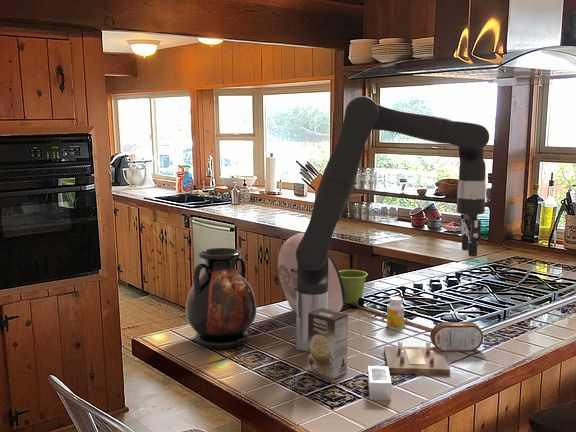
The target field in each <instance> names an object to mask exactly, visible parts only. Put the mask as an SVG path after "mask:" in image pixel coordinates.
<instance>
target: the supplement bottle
mask: <svg viewBox="0 0 576 432" xmlns="http://www.w3.org/2000/svg"><path fill="white" fill-rule="evenodd" d="M402 303H403V298H402V297H400V296H391V297H389V303H388V304H387V309H386V310H387V311H386V327H387V328H389V329H395V330H397V329H398V330H399V329H403V328H404V325H405V321H404V320H405V306H404V305H403V304H402Z"/></svg>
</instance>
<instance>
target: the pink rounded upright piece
mask: <svg viewBox="0 0 576 432" xmlns="http://www.w3.org/2000/svg"><path fill="white" fill-rule="evenodd" d="M304 234H305V232H300V233H299V232H298V233H296V234H294V235H292V236H290V237H288V238H287V240H286V241H284V243H283V244H282V245H281V248H280V250H279V254H278V260H277V269H278V275H279V280H280V284H281V287H282V289H283V290H282V291H283V293H284V296H285V299H286V300H287V303H288V305H289V307H290V308H291V309H292V311H293V312H294V313H295V314H297V260H296V249H297V247H298V245H299V243H300V241H301V240H302V238H303V236H304ZM328 253H329V261H328V309H329V310H333V311H336V312H340V311H342V309H343V308H344V306H345V298H346V294H345V288H344V284H343V281H342V278H341V276H340V273H339V271H340V270H339V268H338V265H337V263H336V261H335V259H334V257H333V256H332V254H331V253H330V252H329V251H328Z"/></svg>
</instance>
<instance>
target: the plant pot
mask: <svg viewBox="0 0 576 432" xmlns="http://www.w3.org/2000/svg"><path fill="white" fill-rule="evenodd" d="M339 273H340V276H341V278H342V281H343V284H344V288H345V294H346V298H345V303H346V304H358V300H359V298H363V294H364V287H365V283H366V279H367V276H368V274H369V273H367V272H366V271H364V270H363V271H362V270H357V269H344V270H339ZM345 303H344V304H345Z"/></svg>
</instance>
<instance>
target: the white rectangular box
mask: <svg viewBox="0 0 576 432" xmlns="http://www.w3.org/2000/svg"><path fill="white" fill-rule="evenodd" d="M390 375H391V373H389V369H388V366H387V365H386V366H385V365H384V366H381V365H380V366H379V365H368V366H367V385H368V386H367V387H368V395H369V400H371V401H372V400H379V401H392V380H391V376H390Z"/></svg>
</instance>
